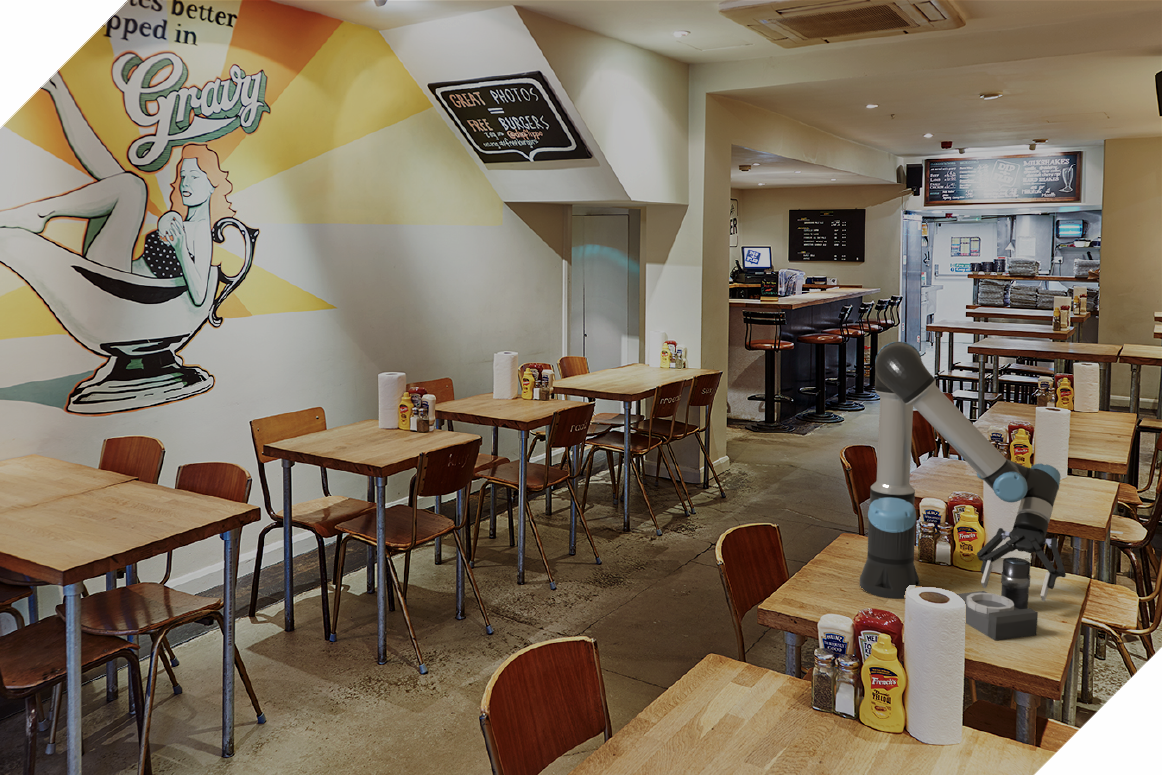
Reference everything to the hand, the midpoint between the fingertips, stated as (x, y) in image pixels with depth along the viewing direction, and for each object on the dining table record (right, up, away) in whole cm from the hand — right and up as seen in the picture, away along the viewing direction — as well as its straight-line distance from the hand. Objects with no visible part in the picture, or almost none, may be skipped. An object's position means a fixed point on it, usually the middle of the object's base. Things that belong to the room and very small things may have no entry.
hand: (1012, 591), depth 210 cm
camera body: (-9, -6, -6) cm, 12 cm away
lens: (+2, -5, +2) cm, 5 cm away
